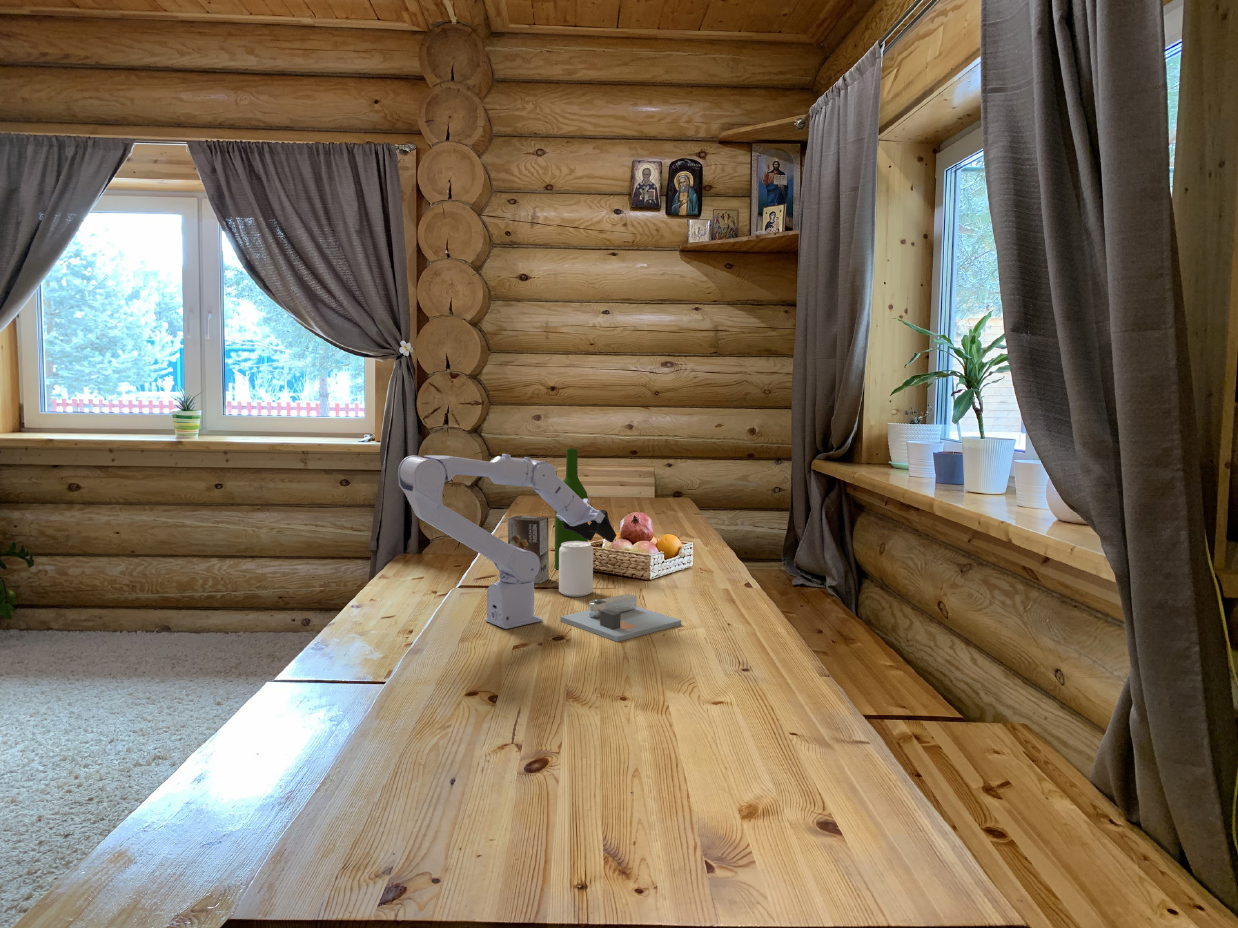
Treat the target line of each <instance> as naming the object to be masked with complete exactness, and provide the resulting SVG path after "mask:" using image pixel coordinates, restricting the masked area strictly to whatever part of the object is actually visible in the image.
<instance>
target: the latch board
mask: <svg viewBox="0 0 1238 928" xmlns="http://www.w3.org/2000/svg"><path fill="white" fill-rule="evenodd" d="M559 618H560V622H562V623H564V624H567V625H569V626H573V627H576V628H578V629H581V630H583V631H587V632H588V633H592V634H595V635H597V636H600V637H603V638H606V639H607V640H608V639H609V640H612V641H614V642H617V643H618V642H623V641H626V640H629V639H633V638H637V637H640V636H644V635H648V634H652V633H655V632H659V631H664V630H666V629H671V628H674V627H679V626H682V619H680V618H675V617H673V616H669V615H667V614H666V615H665V614H663V613H660V612H657V611H653V610H649V609H647V608H643V607H641V606H637V605H636V609H632V610H628V611H623V612H619V613H618V612H615V611H612V610H609V609H606V610H601V611H600V618H595V617H590V616H589V609H588V610H583V611H579V612H574V613H571V614H566V615H560V617H559Z"/></svg>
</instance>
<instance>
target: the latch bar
mask: <svg viewBox="0 0 1238 928" xmlns="http://www.w3.org/2000/svg"><path fill="white" fill-rule="evenodd" d="M637 601H638V599H637V595H634V594H632V593H624V594H619V595H615V596H612V597H611V596H610V597H607V598H602V599H601V598H594V599H593V600H590V601H588V610H589V616H590V617H595V618H600V611H601V610H606V609H609V610H612V611H615V612H618V613H619V612H623V611H628V610H632V609H636V606H637Z"/></svg>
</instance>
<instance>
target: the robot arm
mask: <svg viewBox="0 0 1238 928" xmlns="http://www.w3.org/2000/svg"><path fill="white" fill-rule="evenodd" d="M511 456H512V455H511V454H508V453H502V454H501V456H500V455H498V456H495V457H493V458H492V459H491V460H490V461H486V460H480V459H473V458H466V457H458V456H451V455H438V454H437V455H433V454H432V455H429V454H427V455H423V457H422V456H420V455H416V454H415V455H412V454H411V455H409V456H406V457H405V458H404V459H402V460H401V462H400V463H399V465H398V469H397V477H398V486H399V487H400V489H401V490H402V491H403V493H404V495H405V496H406V498H407V501H408V503H409V505H410V507H411V508H412V511H413V513H414V515H415V516H416V517H417V518H418V519H419V520H421V521H423V522H425V523H426V524H428V525H430V526H431V527H433V528H435V529H436V530H439V531H441V532H442V533H444V534H446V535H447V536H449V537H451V538H452V539H454V540H456V541H457V542H459V543H461V544H463V545H464V546H466V547H468V548H470V549H471V550H473V551H474V552H476V553H479V554H480V555H481V556H483V557H485V558H486V559H487V560H488V561H491V562H492V563H493V565H494V566H495V568H496V569H497V571H499V579H498V581H496V582H494V583H493V582H492V583H491V584H489V586H488V588H487V591H486V617H485V618H484V621H485V622H488V623H490V624H492V625H495V626H498V627H500V628H502V629H506V630H507V629H512V628H516V627H520V626H525V625H529V624H534V623H539V622H542V621H543V618H542V617H539V616H537V615H535V583H534V577H535V576H536V575H537V574H538V572H539V569H540V561H539V558H538V556H537V555H536V554H535V553H533V552H531V551H526V550H523V549H521V548H518V547H516V546H515V545H512V544H508V542H506V541H504V540H502V539H501V538H499V537H497V536H495V534H492V533H491V532H489V531H488V530H486V529H484V528H482V527H481V526H479V525H477V524H476V523H475V522H473V521H471V520H469V519H467V518H466V517H464V516H462V515H461V514H460V513H458V512H456V511H454V510H453V509H451V508H449V507H448V506H446V505H445V504H444V503H443V492H444V486H445V482H450V481H452V479H453V478H454V477H455V476H468V477H469V476H470V477H471V476H473V477H488V478H489V479H490V481H491V482H492V483H493V484H495V485H505V486H513V487H530V488H532V489H533V491H535V492H536V494H538V495H539V497H540V498H541V499H543V501H545V503H546V504H548V505H549V506H550V507H551V508H552V509H553V510H554V512H555V511H556V512H557V514H556V516H557V517H558V518H559V519H560V520H561V521H564V522H565V523H564V525H563V529H565V530H569V531H572V532H574V533H577V534H578V535H580V536H582V537H584V538H585V539H587V540H588V541H592V540H593V538H594V537H595V535H598V536H600V537H601V538H603V539H604V540H605V541H607V542H609V543H613V542H614V541H615V539H616V537H617V534H616V532H615V529H614V528H613V526H612V523H611V522H610V518H609V514H608V511H607V510H605V509H600V510H599V509H598V510H597V509H595V508H594V507H593V506H591V505H590V504H589V503H590V501H591V500H590V498H588V499H583V500H582V499H581V498H580V497H579V496H578V495H577V494H576V493H575V492H574V491H573V490H572V489H571V488H570V487H569V486H567V485H566V484H565V483H564V482H563V481H564V480H562V479H561V478H560V477H559V476H558V475H557V473H556V470H555V467H554V465H553V464H549V463H548V462H546V461H543V460H535V459H532V458H531V457H527V456H524V457H523V458H520V457H519V458H516V457H511ZM587 522H588V523H587ZM589 522H590V524H589Z"/></svg>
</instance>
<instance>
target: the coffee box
mask: <svg viewBox="0 0 1238 928" xmlns="http://www.w3.org/2000/svg"><path fill="white" fill-rule="evenodd" d="M507 543H508V544H512V545H515V546H516V547H518V548H521V549H523V550H526V551H531V552H533V553H535V554H536V555H537V556H538V558H539V561H540V569H539V572H538V574H537V575H536V576H535V577H534V584H542V583H544V582H546V581H547V580H549V579H550V577H549V575H550V574H549V571H550V570H549V517H548V516H531V515H514V516H512V517H510V518H507Z"/></svg>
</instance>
